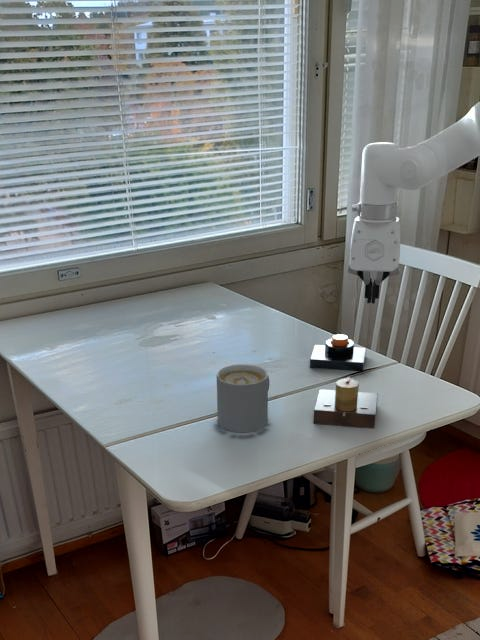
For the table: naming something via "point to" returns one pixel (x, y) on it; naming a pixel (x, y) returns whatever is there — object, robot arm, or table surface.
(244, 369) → the coffee mug
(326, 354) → the button box
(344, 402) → the dial
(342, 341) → the button
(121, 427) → the table surface
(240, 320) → the table surface
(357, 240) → the robot arm
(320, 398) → the dial panel
